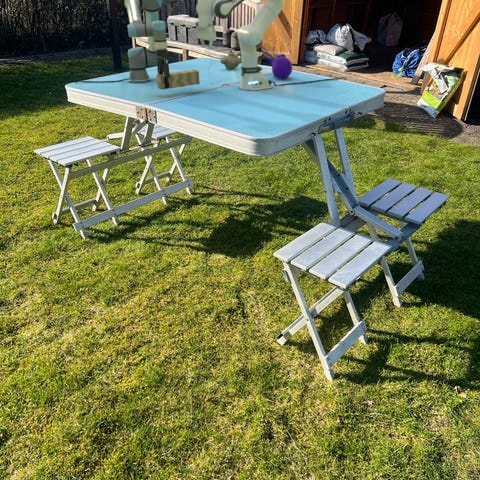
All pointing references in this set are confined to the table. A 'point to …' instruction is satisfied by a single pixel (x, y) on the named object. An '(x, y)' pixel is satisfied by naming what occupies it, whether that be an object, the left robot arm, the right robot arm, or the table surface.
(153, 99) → the table surface
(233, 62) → the teapot
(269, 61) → the toy
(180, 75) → the bar
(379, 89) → the table surface
